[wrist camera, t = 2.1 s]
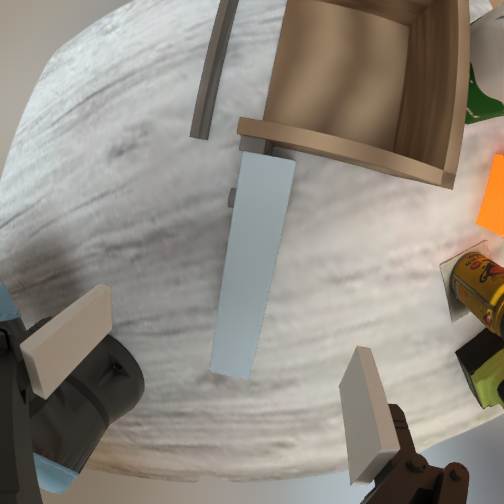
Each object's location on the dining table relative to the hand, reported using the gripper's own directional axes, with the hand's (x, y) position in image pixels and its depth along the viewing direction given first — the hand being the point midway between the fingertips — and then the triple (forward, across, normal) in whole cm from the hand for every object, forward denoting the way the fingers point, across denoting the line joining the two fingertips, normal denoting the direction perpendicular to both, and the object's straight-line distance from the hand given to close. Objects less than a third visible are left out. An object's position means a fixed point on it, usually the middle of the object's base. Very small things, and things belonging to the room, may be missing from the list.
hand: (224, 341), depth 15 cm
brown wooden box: (+18, +2, +19) cm, 26 cm away
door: (+19, 0, 0) cm, 19 cm away
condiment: (+19, +26, +1) cm, 32 cm away
